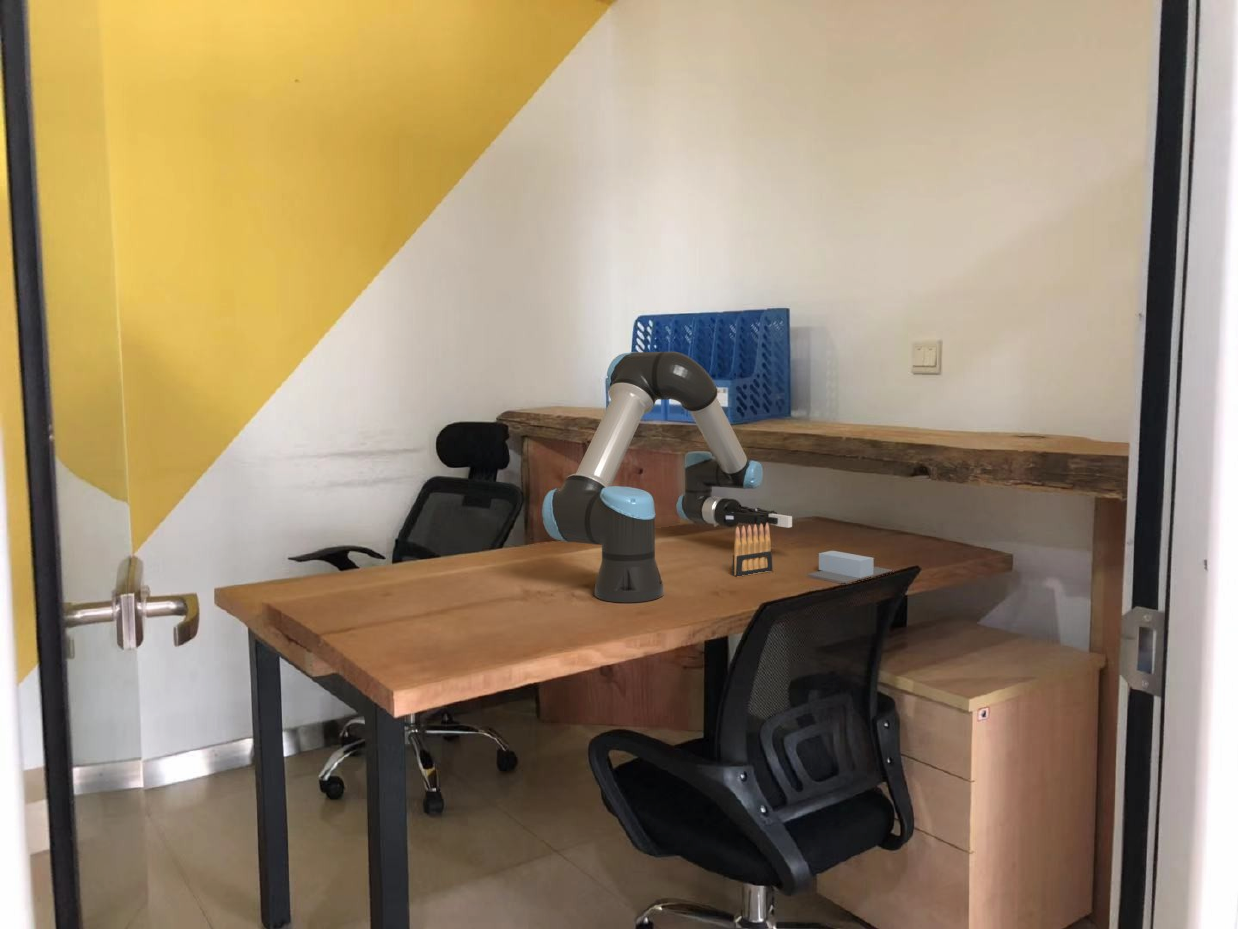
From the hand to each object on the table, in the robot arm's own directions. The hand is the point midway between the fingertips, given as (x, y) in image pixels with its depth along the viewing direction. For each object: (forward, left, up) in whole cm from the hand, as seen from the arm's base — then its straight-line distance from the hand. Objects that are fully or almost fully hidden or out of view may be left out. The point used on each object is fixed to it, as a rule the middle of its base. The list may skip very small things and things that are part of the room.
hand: (789, 522), depth 236 cm
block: (0, -11, -8) cm, 14 cm away
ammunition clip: (-15, -2, -11) cm, 19 cm away
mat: (+1, -18, -11) cm, 21 cm away
